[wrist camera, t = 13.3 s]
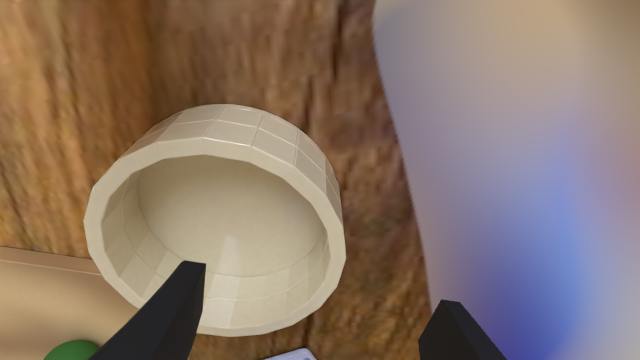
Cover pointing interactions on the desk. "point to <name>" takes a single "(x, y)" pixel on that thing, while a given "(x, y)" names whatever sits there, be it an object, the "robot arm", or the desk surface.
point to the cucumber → (72, 351)
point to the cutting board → (54, 303)
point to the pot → (222, 217)
